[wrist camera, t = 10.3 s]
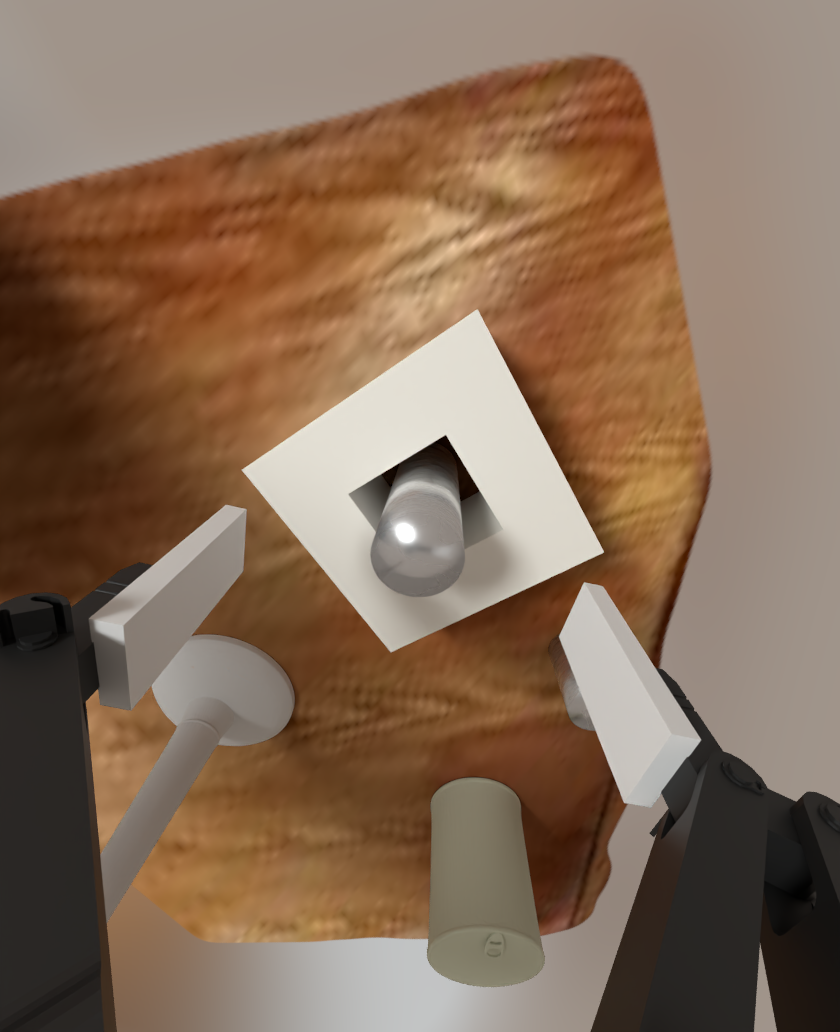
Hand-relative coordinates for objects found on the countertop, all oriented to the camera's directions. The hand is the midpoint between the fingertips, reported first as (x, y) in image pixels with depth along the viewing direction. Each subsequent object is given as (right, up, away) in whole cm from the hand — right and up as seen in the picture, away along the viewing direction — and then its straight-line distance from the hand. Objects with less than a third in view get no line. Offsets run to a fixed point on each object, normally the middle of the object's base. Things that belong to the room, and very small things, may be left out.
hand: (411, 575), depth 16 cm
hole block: (+1, +5, +12) cm, 14 cm away
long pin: (+1, +5, +12) cm, 14 cm away
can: (+6, -27, +27) cm, 39 cm away
